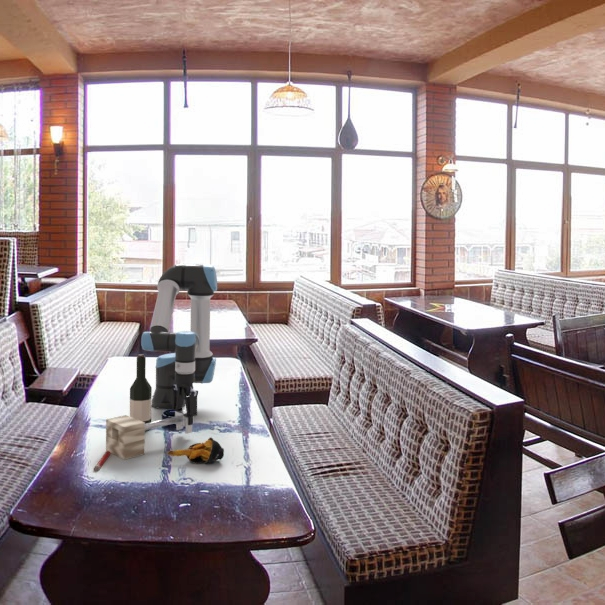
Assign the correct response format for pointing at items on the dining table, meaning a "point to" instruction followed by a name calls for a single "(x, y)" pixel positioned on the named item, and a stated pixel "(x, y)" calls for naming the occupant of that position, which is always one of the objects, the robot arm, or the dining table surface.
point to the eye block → (125, 437)
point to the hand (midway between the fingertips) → (184, 430)
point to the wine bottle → (141, 394)
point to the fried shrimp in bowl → (201, 452)
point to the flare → (102, 461)
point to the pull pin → (170, 420)
